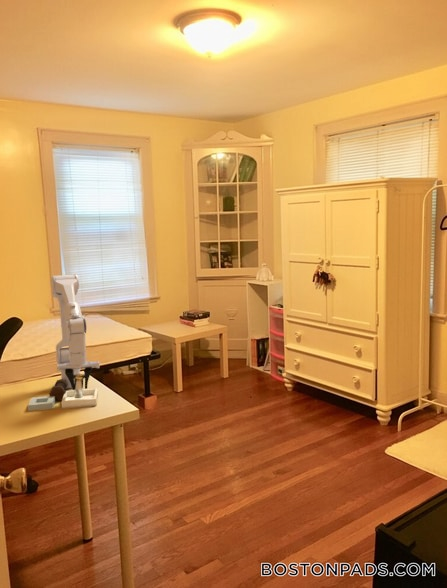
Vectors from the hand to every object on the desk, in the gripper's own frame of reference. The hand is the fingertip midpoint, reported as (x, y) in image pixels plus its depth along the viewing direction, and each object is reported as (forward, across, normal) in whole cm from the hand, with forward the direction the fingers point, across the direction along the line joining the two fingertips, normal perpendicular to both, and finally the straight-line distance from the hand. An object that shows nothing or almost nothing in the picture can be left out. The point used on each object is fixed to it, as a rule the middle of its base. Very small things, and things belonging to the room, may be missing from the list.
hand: (79, 388), depth 175 cm
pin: (+3, -1, 0) cm, 3 cm away
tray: (+5, 0, 0) cm, 5 cm away
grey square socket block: (+5, -13, -1) cm, 14 cm away
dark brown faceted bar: (+5, -8, +10) cm, 14 cm away
